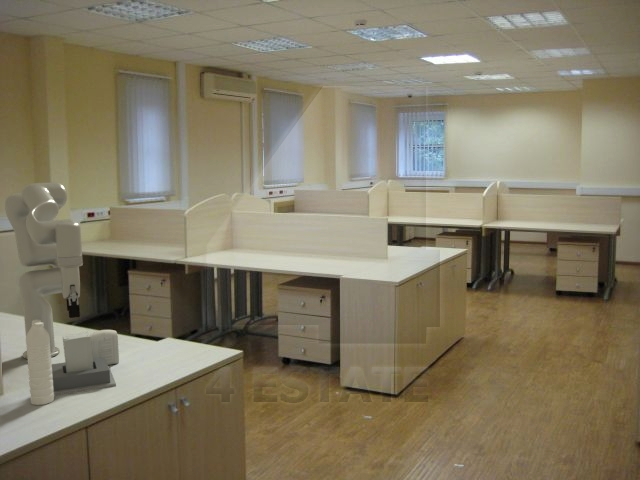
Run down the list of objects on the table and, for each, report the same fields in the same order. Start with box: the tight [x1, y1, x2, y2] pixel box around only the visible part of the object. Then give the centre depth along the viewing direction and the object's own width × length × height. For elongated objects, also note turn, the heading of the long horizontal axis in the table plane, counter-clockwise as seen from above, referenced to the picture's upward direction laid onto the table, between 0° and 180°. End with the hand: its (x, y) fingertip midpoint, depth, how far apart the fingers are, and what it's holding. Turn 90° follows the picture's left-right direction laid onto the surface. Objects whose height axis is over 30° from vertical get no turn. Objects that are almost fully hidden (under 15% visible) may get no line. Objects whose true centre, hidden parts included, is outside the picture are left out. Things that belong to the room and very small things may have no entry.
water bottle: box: [25, 320, 55, 406], centre depth 193 cm, size 9×6×25 cm
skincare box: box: [62, 331, 93, 373], centre depth 211 cm, size 8×6×15 cm
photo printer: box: [89, 329, 120, 366], centre depth 228 cm, size 10×4×12 cm, turn 123°
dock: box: [51, 357, 117, 397], centre depth 211 cm, size 18×20×5 cm
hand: (73, 313), depth 209 cm, fingers open, 9 cm apart
